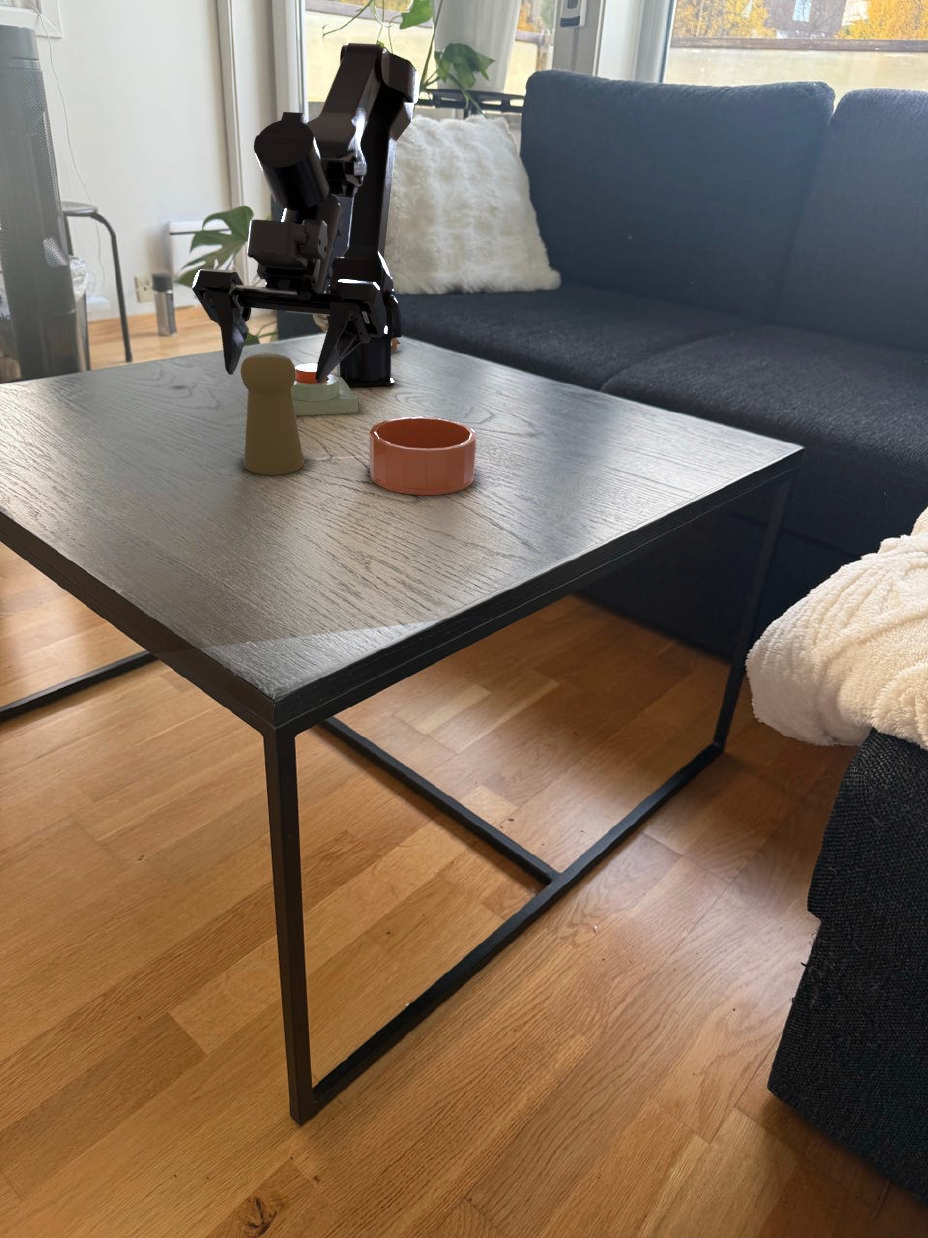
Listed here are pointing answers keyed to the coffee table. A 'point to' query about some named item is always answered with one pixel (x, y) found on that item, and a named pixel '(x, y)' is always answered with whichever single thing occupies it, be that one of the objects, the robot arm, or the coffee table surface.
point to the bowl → (422, 455)
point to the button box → (324, 397)
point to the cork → (270, 415)
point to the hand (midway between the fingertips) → (273, 376)
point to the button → (307, 373)
